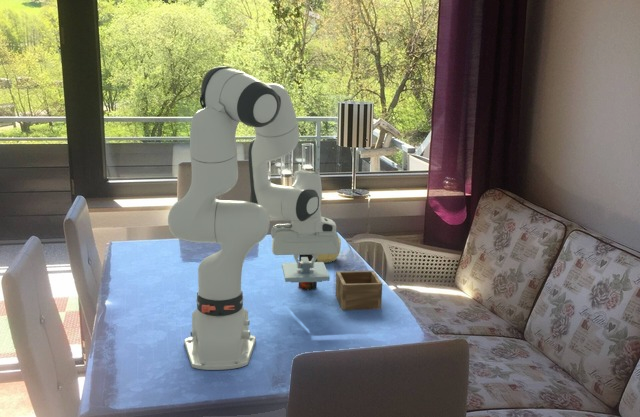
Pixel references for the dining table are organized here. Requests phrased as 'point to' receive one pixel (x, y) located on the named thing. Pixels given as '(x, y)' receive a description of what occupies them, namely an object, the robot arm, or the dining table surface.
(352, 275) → the box
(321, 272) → the lid
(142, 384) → the dining table surface
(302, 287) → the deodorant
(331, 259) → the sculpture
